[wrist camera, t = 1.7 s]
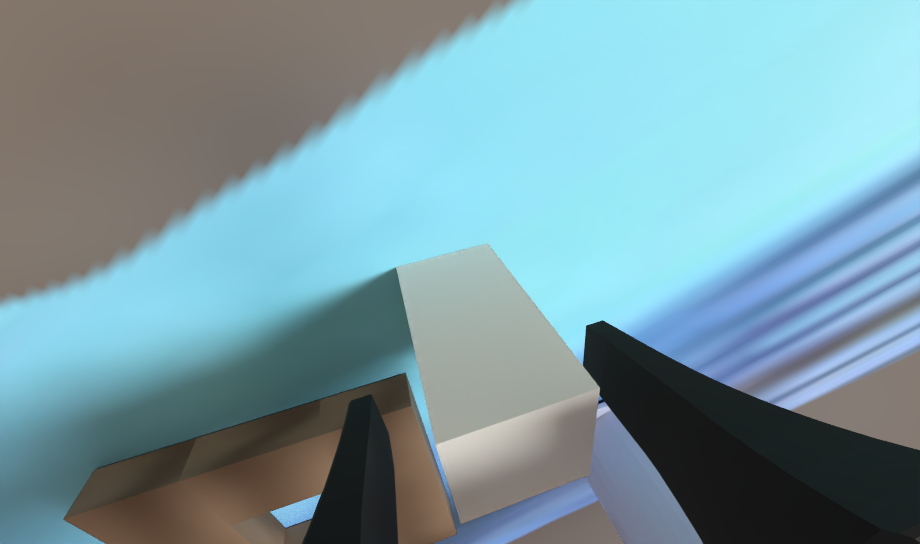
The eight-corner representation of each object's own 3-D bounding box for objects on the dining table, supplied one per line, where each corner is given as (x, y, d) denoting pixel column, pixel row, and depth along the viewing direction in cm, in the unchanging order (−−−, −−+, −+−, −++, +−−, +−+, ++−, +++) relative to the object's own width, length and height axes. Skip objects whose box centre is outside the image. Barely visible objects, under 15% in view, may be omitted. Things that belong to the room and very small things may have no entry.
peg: (487, 243, 15) (599, 387, 8) (495, 314, 17) (589, 474, 10) (396, 267, 14) (435, 444, 7) (416, 337, 16) (461, 524, 10)
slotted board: (405, 372, 17) (411, 405, 15) (450, 502, 25) (457, 534, 23) (95, 469, 15) (63, 519, 13) (247, 579, 23) (238, 619, 21)
